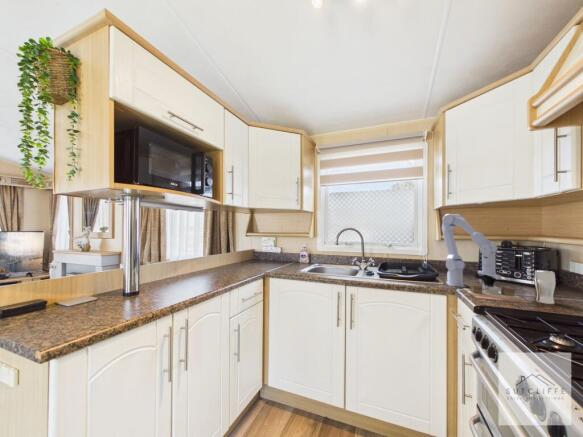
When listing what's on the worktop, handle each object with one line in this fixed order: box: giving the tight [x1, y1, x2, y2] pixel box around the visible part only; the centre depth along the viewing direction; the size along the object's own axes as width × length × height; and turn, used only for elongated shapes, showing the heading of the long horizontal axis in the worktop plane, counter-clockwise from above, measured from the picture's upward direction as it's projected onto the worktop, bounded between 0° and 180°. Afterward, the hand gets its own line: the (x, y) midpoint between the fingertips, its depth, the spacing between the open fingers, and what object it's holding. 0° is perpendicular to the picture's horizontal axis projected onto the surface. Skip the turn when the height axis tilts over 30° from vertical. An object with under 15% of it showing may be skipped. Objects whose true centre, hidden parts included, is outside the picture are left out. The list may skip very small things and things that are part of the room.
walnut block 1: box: [469, 283, 483, 294], centre depth 130 cm, size 4×4×4 cm
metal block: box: [485, 285, 499, 295], centre depth 128 cm, size 4×4×4 cm
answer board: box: [462, 287, 530, 303], centre depth 127 cm, size 20×22×1 cm
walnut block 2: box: [500, 285, 516, 296], centre depth 126 cm, size 4×4×4 cm
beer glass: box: [533, 269, 556, 305], centre depth 115 cm, size 7×7×15 cm
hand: (488, 289), depth 131 cm, fingers closed
